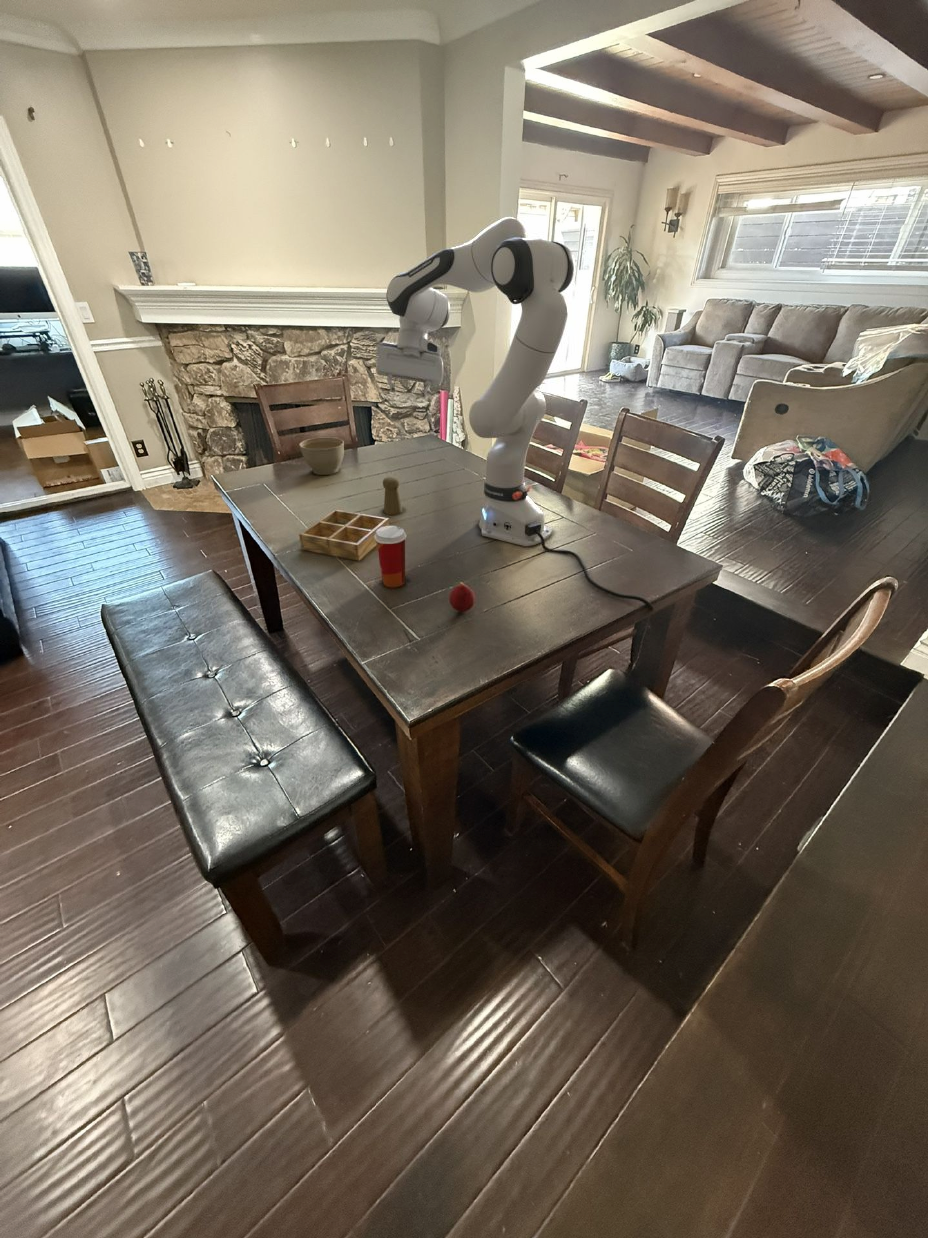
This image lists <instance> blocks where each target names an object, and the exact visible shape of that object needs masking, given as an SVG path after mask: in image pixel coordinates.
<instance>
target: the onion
mask: <svg viewBox="0 0 928 1238" xmlns="http://www.w3.org/2000/svg"><path fill="white" fill-rule="evenodd" d="M475 597H476V596H475V592H474V591H473V589H472V588H470V586H468V585H466V584H465V583H463V582H461V581H460V582H459V583H458V584H457V585H456V586H455V587H453V589H452V590H451V592H450V593H449V604H450V605H451V607H452V608H453V609H454V610H456V611H457V612H458V613H461V614H463V613H466V612H468V611H469V610H472V608H473V606H475V601H476V598H475Z"/></svg>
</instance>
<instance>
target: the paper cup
mask: <svg viewBox="0 0 928 1238" xmlns="http://www.w3.org/2000/svg"><path fill="white" fill-rule="evenodd" d="M374 539H375V540H376V543H377V545H376V548H377V549H376V550H377V555H378V561H379V568H380V573H381V578H382V583H383V585H384V586H385V587H387V588H398V587H401V586H403V585H404V584H405V582H406V539H407V534H406V532H405V530H404V528H402V527H399V526H397V525H389V526H385V527H381V528H379V529H378V530H377V531H376V534H375V536H374Z"/></svg>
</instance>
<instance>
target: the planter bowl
mask: <svg viewBox="0 0 928 1238" xmlns="http://www.w3.org/2000/svg"><path fill="white" fill-rule="evenodd" d="M344 447H345V441H344V440H343V439H341V438H338V437H328V436H327V437H326V436H325V437H323V436H322V437H313V438H308V439H305V440H302V441H301V442H299V448H300V450H301V455H302V457H303V459H304V461H305V463H306V464H307V465H308V467H309V468H311V470H312V472H313V474H316V475H317V476H318V475H320V476H328V475H333V474H336V473H337V472H339V469H340V468H339V467H340V466H341V465H342V463H343V459H344V456H345V455H344V454H345V448H344Z"/></svg>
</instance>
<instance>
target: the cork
mask: <svg viewBox="0 0 928 1238" xmlns="http://www.w3.org/2000/svg"><path fill="white" fill-rule="evenodd" d="M382 486H383V488H384V500H383V503H384V504H383V513H385V514H387V515H399V514H401V513H403V506H402V501H401V496H400V492H399V487H400V480H399V478H398V477H397V476H396V477H395V476H387V477H384V479H383V480H382Z"/></svg>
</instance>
